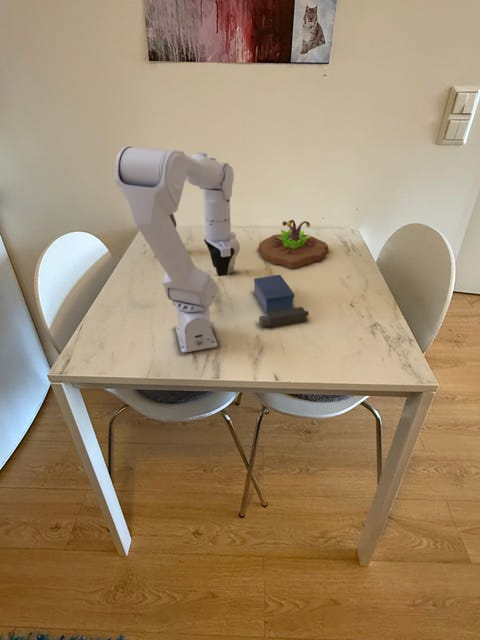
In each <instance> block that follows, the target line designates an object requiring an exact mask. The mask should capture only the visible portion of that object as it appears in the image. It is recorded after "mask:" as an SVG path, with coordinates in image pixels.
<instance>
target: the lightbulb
mask: <svg viewBox="0 0 480 640" xmlns="http://www.w3.org/2000/svg"><path fill="white" fill-rule="evenodd" d="M240 245H241V244H240V242H239V240H238V239H237V238H232V239H231V244H230V248H233V249H234V251H235V252H234V255H233V256H232V258H231V260H230V263H229V267H228V272H227V274H231V273H233V272H234V271H235V265H236V258H237V256H238V255H239V252H240V249H241V246H240Z"/></svg>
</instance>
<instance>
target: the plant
mask: <svg viewBox="0 0 480 640" xmlns="http://www.w3.org/2000/svg"><path fill="white" fill-rule="evenodd" d="M281 224H282V226H284V227H286V226H287V228H289V229H288V231H286V230H283V229H280V233H279V234H273V235H270V237H268V238H264V239H263V240H261V242H259V244H258V252H259V253H260V254H261V256H262V258H263V259H264V260H266V261H269V262H270V263H272V264H274V265H281V266H284V267H286V268H289V269H291V270H293V269H298V268H300V267H303V266H309V265H310V264H313V263H314V262H320V261H321V260H322V259H325V258H326V254H327V253H328V252H329V246H328V244H327V242H326V241H323V240H320V239H318V238H316V237H315V236H312V235H309V234H305V231H304V230H302V229H301V228H302V226H303V225H304V224H305V225H306V228H309V227H311V223H310V221H306V220H303V221H302V222H301V223H300V224H299V225H298V226H297V225H296V221H295V220H294V219H290V220H288V221H285V220H284V221H282V223H281Z"/></svg>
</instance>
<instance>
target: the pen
mask: <svg viewBox="0 0 480 640" xmlns="http://www.w3.org/2000/svg"><path fill="white" fill-rule="evenodd" d="M309 315H310V313H309V311H308V310H306V309H305V308H304V307H303V306H299V307H293V308H292V309H286V310H280V311H275V312H269V313H267V314H265V315H260V316H259V318H258V320H259V321H258V323H259V326H260V327H267V326H269V328H275V327H281V326H286V325H291V324H292V325H293V324H299V323H303V322H306V321H307V316H309Z"/></svg>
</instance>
